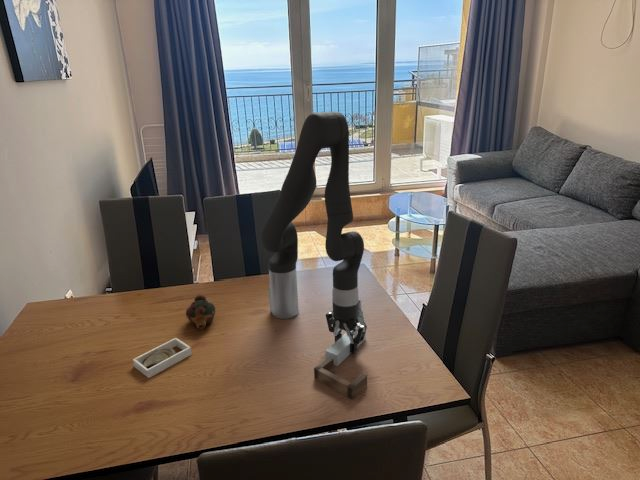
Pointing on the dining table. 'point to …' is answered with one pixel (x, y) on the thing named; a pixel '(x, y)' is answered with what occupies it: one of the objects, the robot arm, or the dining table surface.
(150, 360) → the oyster shell
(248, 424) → the dining table surface
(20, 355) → the dining table surface
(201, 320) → the decorative turtle
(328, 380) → the end cap
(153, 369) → the shell dish
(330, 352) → the white rectangular bar
